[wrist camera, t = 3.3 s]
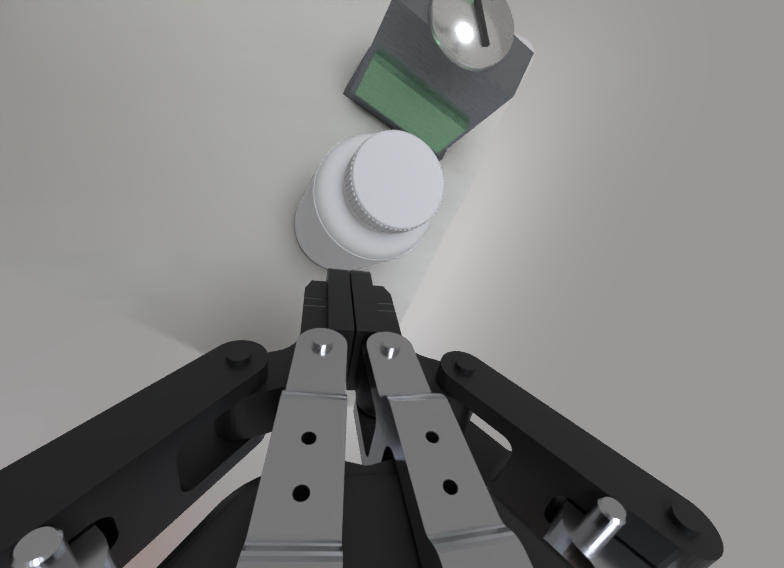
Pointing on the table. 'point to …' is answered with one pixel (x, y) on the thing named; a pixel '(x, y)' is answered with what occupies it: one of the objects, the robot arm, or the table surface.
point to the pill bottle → (369, 200)
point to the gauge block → (440, 67)
